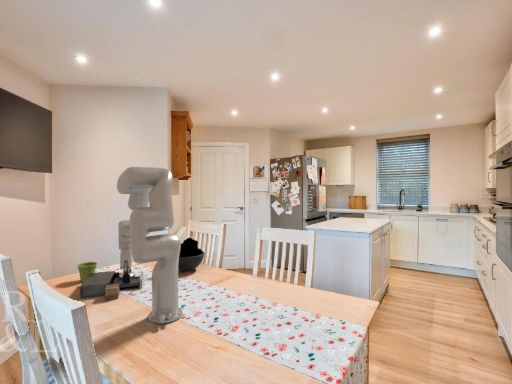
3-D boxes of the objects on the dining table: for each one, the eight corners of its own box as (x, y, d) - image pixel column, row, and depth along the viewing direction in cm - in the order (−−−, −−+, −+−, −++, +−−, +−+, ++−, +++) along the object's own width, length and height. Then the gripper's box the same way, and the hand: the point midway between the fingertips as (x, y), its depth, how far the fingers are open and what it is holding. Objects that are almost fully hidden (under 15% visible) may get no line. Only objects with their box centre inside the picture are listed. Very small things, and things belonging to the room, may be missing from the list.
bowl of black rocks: (206, 264, 176) (206, 235, 176) (202, 274, 156) (201, 241, 156) (174, 265, 175) (174, 236, 175) (166, 275, 155) (166, 242, 155)
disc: (118, 280, 134) (118, 276, 134) (120, 275, 141) (120, 272, 141) (134, 278, 137) (134, 275, 137) (135, 274, 143) (135, 271, 143)
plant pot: (101, 277, 151) (101, 262, 151) (89, 283, 142) (89, 267, 142) (85, 277, 152) (85, 261, 152) (72, 283, 143) (72, 266, 143)
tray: (142, 287, 135) (141, 279, 135) (111, 291, 130) (111, 283, 130) (143, 279, 148) (143, 271, 148) (115, 282, 143) (115, 274, 143)
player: (117, 293, 128) (117, 282, 128) (80, 298, 123) (80, 286, 123) (122, 280, 147) (122, 270, 147) (90, 283, 142) (90, 273, 142)
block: (117, 298, 123) (117, 287, 123) (105, 300, 121) (105, 289, 121) (119, 294, 127) (119, 284, 127) (107, 296, 126) (107, 285, 126)
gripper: (120, 242, 145) (121, 275, 146) (116, 249, 129) (116, 287, 129) (136, 241, 148) (136, 274, 148) (133, 248, 132) (133, 285, 132)
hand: (127, 279), depth 139 cm, fingers closed on disc, 7 cm apart
